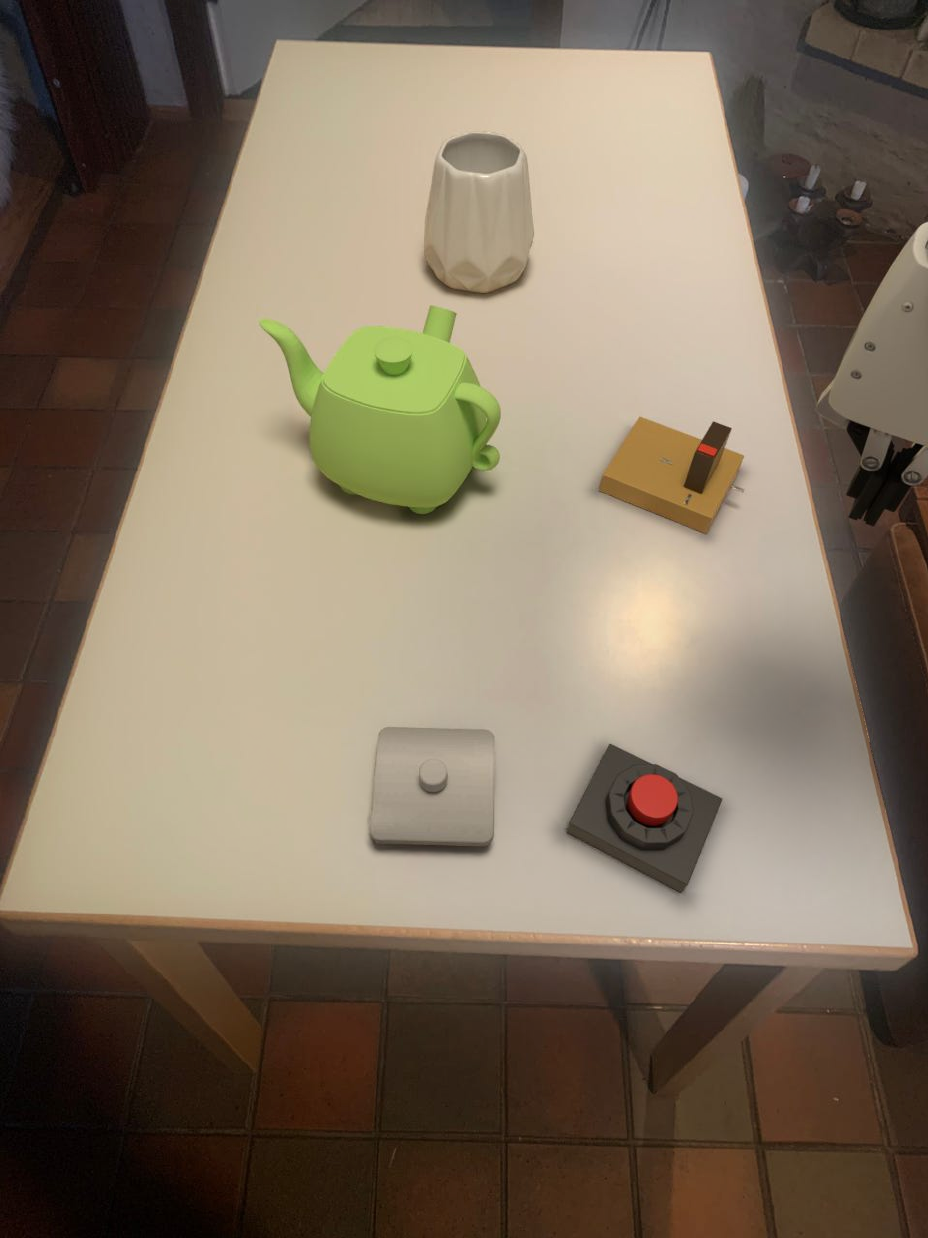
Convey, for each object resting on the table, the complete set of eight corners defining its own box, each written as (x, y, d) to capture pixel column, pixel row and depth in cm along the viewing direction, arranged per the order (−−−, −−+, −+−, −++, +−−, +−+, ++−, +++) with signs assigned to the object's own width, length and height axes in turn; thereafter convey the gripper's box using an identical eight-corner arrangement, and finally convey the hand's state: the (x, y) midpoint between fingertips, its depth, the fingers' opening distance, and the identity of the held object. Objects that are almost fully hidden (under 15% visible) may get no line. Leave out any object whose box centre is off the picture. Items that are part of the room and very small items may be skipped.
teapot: (535, 410, 96) (547, 287, 83) (472, 549, 85) (475, 433, 72) (335, 359, 101) (317, 236, 87) (250, 485, 89) (215, 365, 76)
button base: (716, 808, 70) (729, 789, 67) (681, 893, 66) (693, 878, 63) (605, 753, 73) (613, 733, 69) (566, 832, 69) (571, 814, 65)
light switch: (371, 851, 68) (365, 829, 63) (380, 740, 73) (376, 713, 69) (493, 854, 68) (495, 833, 63) (493, 742, 73) (495, 716, 69)
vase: (492, 226, 116) (497, 110, 104) (552, 279, 110) (565, 162, 97) (405, 258, 112) (398, 141, 99) (462, 315, 105) (463, 197, 93)
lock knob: (701, 456, 89) (713, 419, 84) (719, 463, 88) (732, 426, 84) (683, 486, 86) (695, 449, 82) (701, 494, 86) (714, 457, 81)
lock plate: (752, 477, 91) (759, 459, 88) (720, 540, 86) (727, 523, 83) (635, 432, 94) (639, 414, 92) (599, 490, 89) (602, 473, 87)
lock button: (680, 795, 67) (684, 787, 65) (663, 834, 65) (667, 826, 63) (637, 774, 68) (641, 766, 66) (620, 812, 66) (623, 804, 64)
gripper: (1214, 240, 38) (999, 510, 53) (879, 157, 42) (768, 431, 57) (1207, 334, 34) (978, 595, 49) (840, 233, 38) (733, 504, 53)
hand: (866, 507), depth 53 cm, fingers closed
